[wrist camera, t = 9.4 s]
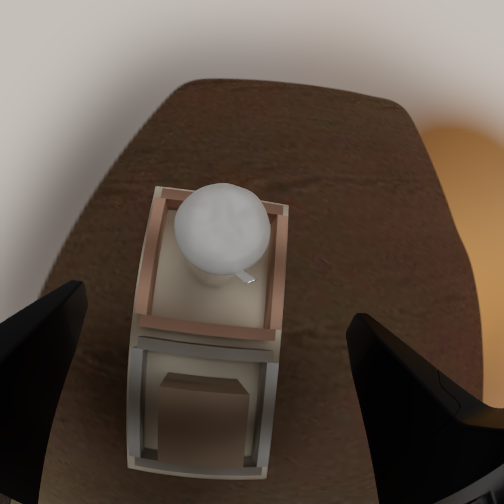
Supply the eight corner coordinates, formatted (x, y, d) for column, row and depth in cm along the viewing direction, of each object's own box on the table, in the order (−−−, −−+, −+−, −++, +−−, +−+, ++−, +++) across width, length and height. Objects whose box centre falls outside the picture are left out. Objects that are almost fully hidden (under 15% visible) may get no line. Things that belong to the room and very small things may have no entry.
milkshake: (195, 314, 20) (193, 299, 10) (175, 244, 21) (161, 175, 11) (255, 296, 21) (303, 265, 11) (233, 229, 22) (261, 155, 12)
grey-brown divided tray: (263, 473, 18) (283, 510, 12) (130, 462, 16) (113, 498, 11) (285, 209, 24) (310, 176, 19) (157, 191, 23) (148, 151, 17)
